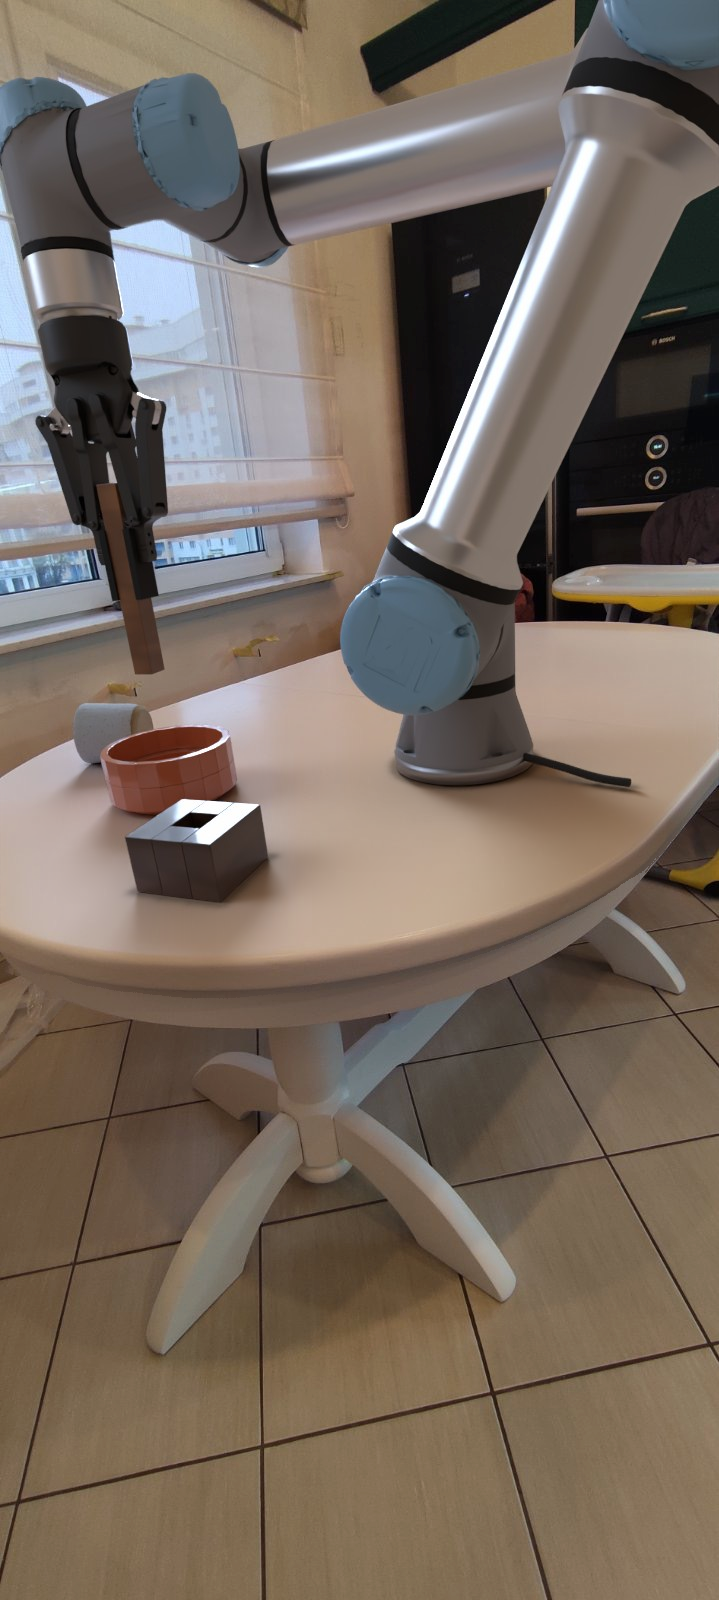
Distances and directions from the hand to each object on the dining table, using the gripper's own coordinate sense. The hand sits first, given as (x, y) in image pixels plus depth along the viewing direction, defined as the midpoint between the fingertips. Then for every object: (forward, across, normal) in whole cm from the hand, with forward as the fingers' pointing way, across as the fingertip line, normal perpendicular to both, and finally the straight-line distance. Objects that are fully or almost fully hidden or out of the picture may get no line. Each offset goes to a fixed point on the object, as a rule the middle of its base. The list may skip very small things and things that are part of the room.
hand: (135, 597), depth 72 cm
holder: (+21, -14, +16) cm, 30 cm away
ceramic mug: (+21, +16, -11) cm, 29 cm away
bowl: (+21, 0, 0) cm, 21 cm away
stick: (+7, 0, 0) cm, 7 cm away
